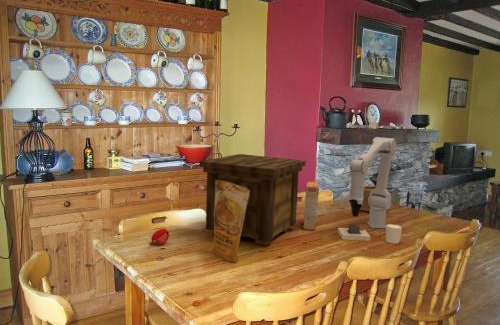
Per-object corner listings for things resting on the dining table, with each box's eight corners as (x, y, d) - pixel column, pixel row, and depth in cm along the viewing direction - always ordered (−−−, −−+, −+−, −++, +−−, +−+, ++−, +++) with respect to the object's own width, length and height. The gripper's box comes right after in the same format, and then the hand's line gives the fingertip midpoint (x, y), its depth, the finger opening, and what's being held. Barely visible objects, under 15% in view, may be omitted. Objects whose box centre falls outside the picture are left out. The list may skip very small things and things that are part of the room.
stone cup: (354, 211, 227) (356, 185, 225) (364, 207, 236) (366, 182, 234) (380, 216, 218) (382, 189, 216) (389, 213, 226) (391, 186, 224)
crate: (301, 228, 190) (305, 160, 186) (270, 250, 159) (274, 169, 155) (237, 217, 206) (239, 154, 202) (198, 234, 176) (199, 161, 171)
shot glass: (390, 244, 172) (391, 228, 171) (381, 239, 179) (382, 224, 178) (404, 243, 174) (405, 228, 173) (394, 238, 181) (395, 223, 180)
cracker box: (315, 230, 188) (318, 187, 185) (302, 229, 189) (305, 186, 186) (317, 222, 201) (319, 181, 198) (304, 221, 203) (307, 180, 200)
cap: (170, 232, 167) (157, 225, 166) (172, 231, 162) (159, 224, 161) (160, 249, 165) (147, 242, 163) (162, 249, 159) (149, 242, 158)
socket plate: (337, 231, 187) (338, 226, 187) (363, 233, 187) (364, 227, 187) (342, 239, 177) (343, 233, 176) (370, 240, 176) (370, 235, 176)
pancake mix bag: (220, 246, 162) (222, 178, 158) (249, 262, 147) (251, 187, 143) (205, 249, 158) (207, 179, 154) (234, 265, 143) (236, 188, 139)
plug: (348, 234, 184) (349, 224, 183) (357, 235, 184) (357, 224, 183) (350, 237, 180) (351, 226, 179) (359, 238, 180) (360, 227, 179)
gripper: (344, 183, 186) (342, 211, 188) (351, 189, 172) (349, 220, 173) (360, 183, 186) (358, 212, 188) (368, 190, 171) (366, 220, 173)
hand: (355, 216), depth 181 cm, fingers closed
